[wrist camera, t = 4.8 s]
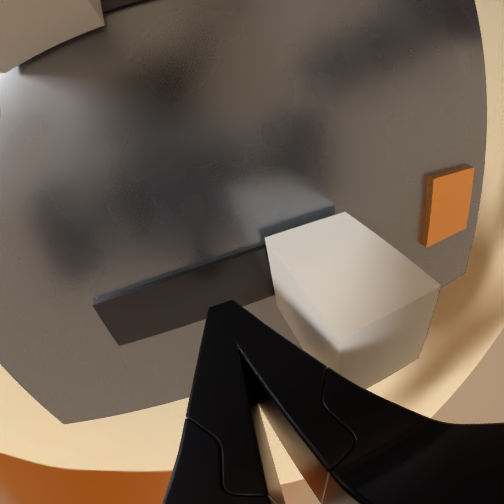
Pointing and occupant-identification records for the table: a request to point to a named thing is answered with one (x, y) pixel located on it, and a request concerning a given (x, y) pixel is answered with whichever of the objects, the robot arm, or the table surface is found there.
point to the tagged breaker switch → (351, 297)
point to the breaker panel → (218, 174)
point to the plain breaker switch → (42, 26)
